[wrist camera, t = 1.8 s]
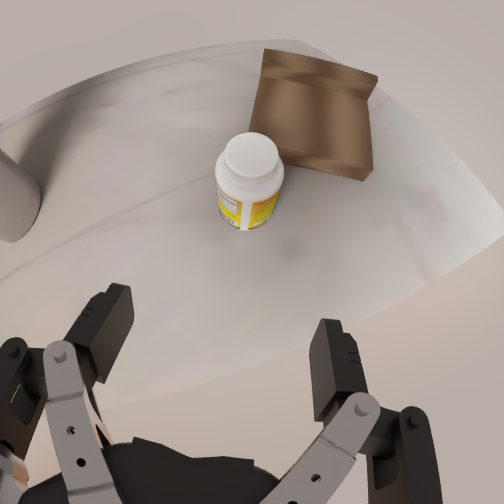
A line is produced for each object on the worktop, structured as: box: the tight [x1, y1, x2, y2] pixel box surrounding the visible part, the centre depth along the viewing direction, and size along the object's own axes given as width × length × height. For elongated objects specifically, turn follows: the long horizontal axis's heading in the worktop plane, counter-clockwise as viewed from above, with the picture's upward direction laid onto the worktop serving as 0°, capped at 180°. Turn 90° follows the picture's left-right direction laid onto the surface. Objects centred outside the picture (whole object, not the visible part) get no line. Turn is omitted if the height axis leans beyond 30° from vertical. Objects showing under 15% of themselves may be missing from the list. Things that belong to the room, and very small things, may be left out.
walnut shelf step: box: [249, 49, 378, 181], centre depth 30 cm, size 14×12×7 cm
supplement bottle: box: [215, 132, 284, 231], centre depth 25 cm, size 6×6×10 cm
